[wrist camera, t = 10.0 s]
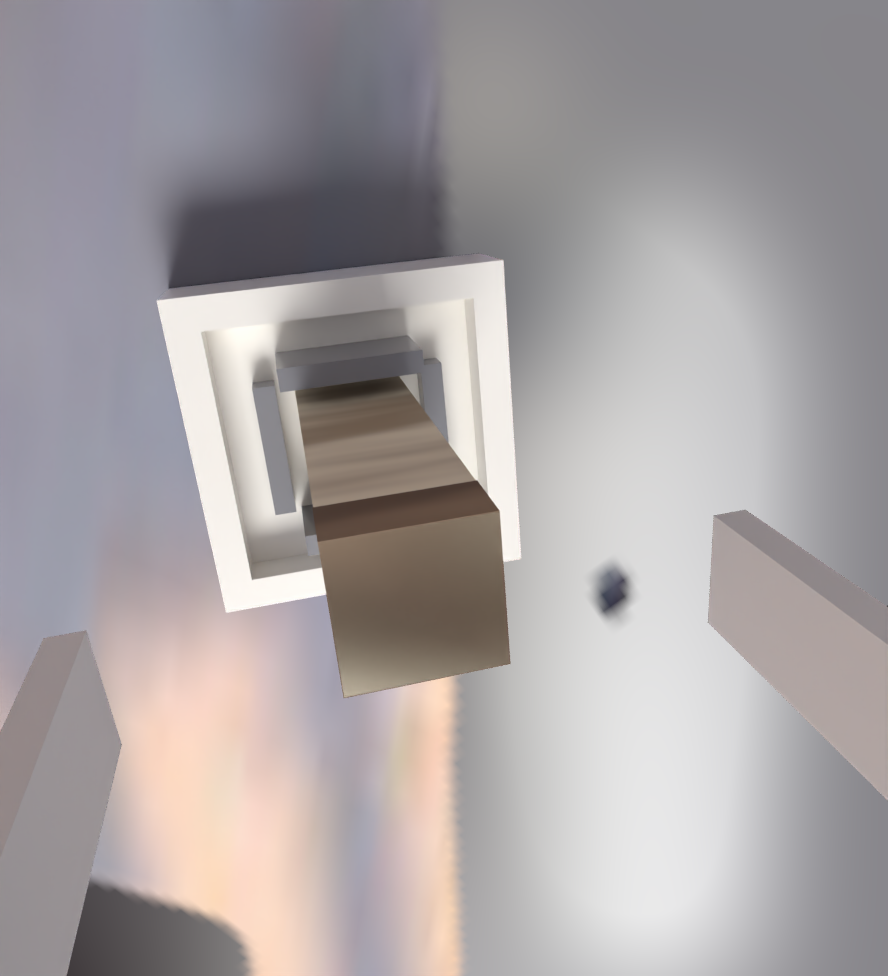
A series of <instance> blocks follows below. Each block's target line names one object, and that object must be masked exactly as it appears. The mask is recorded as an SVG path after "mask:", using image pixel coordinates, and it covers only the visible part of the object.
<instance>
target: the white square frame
mask: <svg viewBox="0 0 888 976" xmlns="http://www.w3.org/2000/svg"><path fill="white" fill-rule="evenodd" d="M157 305H158V309H159V314H160V318H161V323H162V327H163V332H164V336H165V340H166V345H167V349H168V354H169V358H170V363H171V367H172V372H173V376H174V381H175V385H176V390H177V394H178V399H179V403H180V408H181V412H182V417H183V421H184V426H185V430H186V435H187V439H188V444H189V448H190V452H191V457H192V461H193V466H194V470H195V475H196V479H197V484H198V488H199V493H200V497H201V502H202V506H203V511H204V515H205V520H206V524H207V529H208V533H209V538H210V542H211V547H212V551H213V556H214V560H215V564H216V569H217V573H218V578H219V582H220V587H221V591H222V596H223V600H224V605H225V609H226V613H227V612H233V611H238V610H244V609H249V608H255V607H260V606H266V605H271V604H277V603H282V602H288V601H293V600H298V599H304V598H309V597H315V596H320V595H326V590H325V584H324V578H323V572H322V566H321V560H320V554H319V548H318V542H317V535H316V529H315V522H314V516H313V509H312V507H313V504H312V497H311V491H310V485H309V478H308V472H307V465H306V459H305V453H304V446H303V440H302V433H301V427H300V421H299V414H298V408H297V401H296V395H295V391H296V390H303V389H310V388H317V387H324V386H331V385H339V384H346V383H353V382H360V381H367V380H374V379H381V378H389V377H396V376H399V377H400V378H401V380H402V381H403V382H404V384H405V385H406V386H407V388H408V389H409V390H410V392H411V393H412V394H413V396H414V397H415V399H416V400H417V401H418V403H419V404H420V405H421V407H422V408H423V409H424V411H425V412H426V413H427V415H428V416H429V418H430V419H431V420H432V422H433V423H434V424H435V426H436V427H437V428H438V430H439V431H440V432H441V434H442V435H443V437H444V438H445V439H446V441H447V442H448V443H449V445H450V446H451V447H452V449H453V450H454V451H455V453H456V454H457V456H458V457H459V458H460V460H461V461H462V462H463V464H464V465H465V466H466V468H467V469H468V470H469V472H470V473H471V475H472V476H473V477H474V479H475V480H477V481H478V482H479V483H480V485H481V486H482V488H483V489H484V490H485V492H486V493H487V494H488V496H489V497H490V498H491V500H492V501H493V502H494V504H495V505H496V506H497V508H498V509H499V510H500V522H501V536H502V551H503V562H506V561H511V560H517V559H521V551H520V550H521V549H520V532H519V515H518V498H517V483H516V465H515V448H514V431H513V414H512V398H511V383H510V382H511V380H510V364H509V348H508V331H507V314H506V296H505V279H504V263H503V260H501V259H498V258H494V257H491V256H487V255H484V254H480V253H476V254H466V255H458V256H449V257H440V258H431V259H423V260H414V261H405V262H397V263H388V264H379V265H370V266H362V267H353V268H344V269H335V270H327V271H318V272H309V273H301V274H292V275H283V276H274V277H266V278H257V279H248V280H239V281H231V282H222V283H213V284H204V285H196V286H187V287H178V288H170V289H167V291H166V292H165V293H164V294H163V295H162V296H161V297H160V298H159V299H158V300H157Z"/></svg>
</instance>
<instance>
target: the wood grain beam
mask: <svg viewBox="0 0 888 976" xmlns="http://www.w3.org/2000/svg"><path fill="white" fill-rule="evenodd" d="M295 395H296V401H297V408H298V414H299V421H300V427H301V433H302V440H303V446H304V453H305V459H306V465H307V472H308V478H309V485H310V491H311V497H312V504H313V507H312V509H313V516H314V522H315V529H316V535H317V542H318V548H319V554H320V560H321V566H322V572H323V578H324V584H325V590H326V596H327V602H328V607H329V613H330V619H331V625H332V631H333V637H334V643H335V649H336V655H337V661H338V667H339V673H340V679H341V685H342V691H343V697H344V698H348V697H352V696H357V695H362V694H367V693H372V692H377V691H381V690H386V689H391V688H396V687H401V686H406V685H411V684H415V683H420V682H425V681H430V680H435V679H440V678H444V677H449V676H454V675H459V674H464V673H469V672H473V671H478V670H483V669H488V668H493V667H498V666H503V665H507V664H510V651H509V636H508V624H507V623H508V622H507V608H506V594H505V580H504V565H503V551H502V536H501V522H500V510H499V509H498V508H497V506H496V505H495V504H494V502H493V501H492V500H491V498H490V497H489V496H488V494H487V493H486V492H485V490H484V489H483V488H482V486H481V485H480V483H479V482H478V481H477V480H475V479H474V477H473V476H472V475H471V473H470V472H469V470H468V469H467V468H466V466H465V465H464V464H463V462H462V461H461V460H460V458H459V457H458V456H457V454H456V453H455V451H454V450H453V449H452V447H451V446H450V445H449V443H448V442H447V441H446V439H445V438H444V437H443V435H442V434H441V432H440V431H439V430H438V428H437V427H436V426H435V424H434V423H433V422H432V420H431V419H430V418H429V416H428V415H427V413H426V412H425V411H424V409H423V408H422V407H421V405H420V404H419V403H418V401H417V400H416V399H415V397H414V396H413V394H412V393H411V392H410V390H409V389H408V388H407V386H406V385H405V384H404V382H403V381H402V380H401V378H400V377H399V376H396V377H389V378H381V379H374V380H367V381H360V382H353V383H346V384H339V385H331V386H324V387H317V388H310V389H303V390H296V391H295Z"/></svg>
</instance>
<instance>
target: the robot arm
mask: <svg viewBox="0 0 888 976" xmlns="http://www.w3.org/2000/svg"><path fill="white" fill-rule="evenodd" d="M708 623H709V624H710V625H711V626H712V627H713V628H714V629H715V630H716V631H717V632H718V633H719V634H720V635H721V636H722V637H723V638H724V639H725V640H726V641H727V642H728V643H729V644H730V645H731V646H732V647H733V648H734V649H735V650H736V651H737V652H738V653H739V654H740V655H741V656H742V657H744V659H745V660H746V661H747V662H749V664H751V666H753V667H754V668H755V669H756V670H757V671H758V672H759V673H760V674H761V675H762V676H763V677H764V678H765V679H766V680H767V681H768V682H769V683H770V684H771V685H772V686H773V687H774V688H775V689H776V690H777V691H778V692H779V693H780V694H781V695H782V696H783V697H784V698H785V699H786V700H787V701H788V702H789V703H790V704H791V705H792V706H793V707H794V708H795V709H796V710H797V711H798V712H799V713H800V714H801V715H802V716H803V717H804V718H805V719H806V720H807V721H808V722H809V723H810V724H811V725H812V726H813V727H814V728H815V729H816V730H817V731H818V732H819V733H820V734H821V735H822V736H823V737H824V738H825V739H826V740H827V741H828V742H829V743H830V744H831V745H832V746H833V747H834V748H835V749H836V750H837V751H838V752H839V753H841V755H842V756H843V757H844V758H845V759H846V760H847V761H849V763H850V764H852V765H853V766H854V767H855V768H856V769H857V770H858V771H859V772H860V773H861V774H862V775H863V776H864V777H865V778H866V779H867V780H868V781H869V782H870V783H871V784H872V785H873V786H874V787H875V788H876V789H877V790H878V791H879V792H880V793H881V794H882V795H883V796H884V797H885V798H886V799H887V800H888V606H885V605H884V604H883V603H881V602H880V601H878V600H877V599H875V598H874V597H872V596H871V595H869V594H868V593H867V592H865V591H863V590H862V589H861V588H859V587H857V586H856V585H855V584H853V583H852V582H850V581H849V580H847V579H846V578H845V577H843V576H842V575H840V574H839V573H837V572H836V571H834V570H833V569H831V568H829V567H828V566H827V565H825V564H824V563H823V562H821V561H820V560H818V559H817V558H815V557H814V556H812V555H811V554H809V553H808V552H806V551H805V550H804V549H802V548H801V547H799V546H798V545H796V544H795V543H793V542H792V541H790V540H789V539H787V538H786V537H785V536H783V535H782V534H780V533H779V532H777V531H776V530H774V529H773V528H771V527H770V526H768V525H767V524H766V523H764V522H762V521H761V520H760V519H758V518H757V517H755V516H754V515H752V514H751V513H749V512H748V511H746V510H742V511H736V512H730V513H725V514H720V515H714V520H713V539H712V558H711V576H710V594H709V613H708ZM121 745H122V744H121V741H120V738H119V734H118V731H117V728H116V725H115V722H114V718H113V715H112V712H111V709H110V706H109V702H108V699H107V696H106V693H105V689H104V686H103V683H102V680H101V677H100V673H99V670H98V667H97V664H96V661H95V657H94V654H93V651H92V648H91V644H90V641H89V638H88V635H87V632H86V631H81V632H75V633H70V634H64V635H59V636H54V637H48V638H44V639H43V641H42V643H41V645H40V647H39V650H38V652H37V654H36V656H35V658H34V660H33V663H32V665H31V667H30V669H29V671H28V673H27V676H26V678H25V680H24V682H23V684H22V686H21V689H20V691H19V693H18V695H17V697H16V699H15V701H14V704H13V706H12V708H11V710H10V712H9V714H8V717H7V719H6V721H5V723H4V725H3V727H2V730H1V732H0V976H66V975H67V970H68V966H69V962H70V958H71V954H72V949H73V945H74V941H75V936H76V932H77V928H78V925H79V920H80V916H81V912H82V908H83V904H84V899H85V895H86V891H87V887H88V883H89V879H90V874H91V870H92V866H93V862H94V858H95V854H96V849H97V845H98V841H99V837H100V833H101V828H102V824H103V820H104V816H105V812H106V808H107V803H108V799H109V795H110V791H111V787H112V783H113V778H114V774H115V770H116V766H117V762H118V757H119V753H120V749H121Z"/></svg>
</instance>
